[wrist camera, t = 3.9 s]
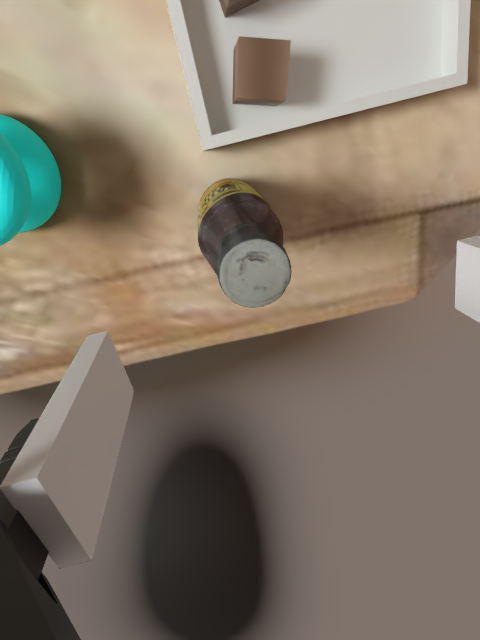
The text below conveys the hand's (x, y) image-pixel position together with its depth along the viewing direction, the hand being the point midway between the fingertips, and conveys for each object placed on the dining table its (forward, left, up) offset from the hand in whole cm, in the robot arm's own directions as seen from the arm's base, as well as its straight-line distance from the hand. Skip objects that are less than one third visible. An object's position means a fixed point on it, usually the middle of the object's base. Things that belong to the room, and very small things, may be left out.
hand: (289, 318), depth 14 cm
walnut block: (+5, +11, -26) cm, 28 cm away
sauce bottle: (0, 0, -27) cm, 27 cm away
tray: (+11, +14, -26) cm, 32 cm away
